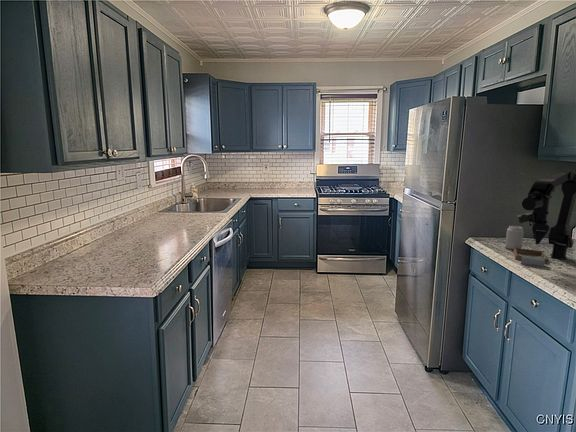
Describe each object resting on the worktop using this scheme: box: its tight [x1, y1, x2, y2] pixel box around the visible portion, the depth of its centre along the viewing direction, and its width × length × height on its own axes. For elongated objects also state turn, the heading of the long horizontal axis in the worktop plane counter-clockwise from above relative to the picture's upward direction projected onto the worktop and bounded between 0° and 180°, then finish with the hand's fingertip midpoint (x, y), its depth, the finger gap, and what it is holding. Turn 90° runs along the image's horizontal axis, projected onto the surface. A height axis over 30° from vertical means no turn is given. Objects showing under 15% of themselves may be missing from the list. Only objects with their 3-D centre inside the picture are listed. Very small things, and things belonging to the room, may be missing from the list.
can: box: [504, 225, 524, 251], centre depth 196 cm, size 8×8×12 cm
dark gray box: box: [520, 254, 546, 269], centre depth 171 cm, size 5×9×4 cm, turn 56°
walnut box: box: [513, 248, 548, 264], centre depth 182 cm, size 15×13×2 cm
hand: (536, 241), depth 170 cm, fingers open, 9 cm apart
